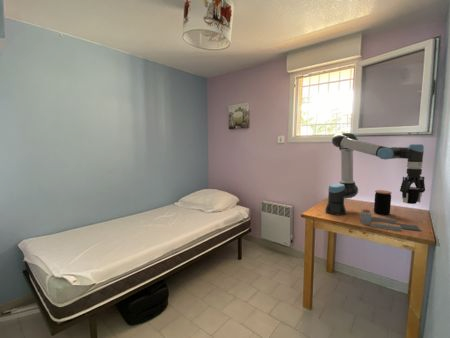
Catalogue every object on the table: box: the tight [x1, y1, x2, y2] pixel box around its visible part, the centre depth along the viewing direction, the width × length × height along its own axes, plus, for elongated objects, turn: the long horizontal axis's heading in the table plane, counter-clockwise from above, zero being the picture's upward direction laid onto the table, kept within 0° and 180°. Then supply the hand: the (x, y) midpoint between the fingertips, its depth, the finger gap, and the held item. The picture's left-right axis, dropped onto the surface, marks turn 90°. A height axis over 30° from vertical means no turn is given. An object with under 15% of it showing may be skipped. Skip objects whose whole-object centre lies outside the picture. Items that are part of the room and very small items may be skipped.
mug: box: [401, 186, 420, 205], centre depth 148 cm, size 12×9×10 cm
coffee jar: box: [373, 189, 392, 216], centre depth 180 cm, size 11×11×18 cm
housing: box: [359, 208, 403, 232], centre depth 157 cm, size 22×16×8 cm
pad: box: [398, 222, 422, 232], centre depth 151 cm, size 10×10×1 cm
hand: (411, 202), depth 149 cm, fingers closed on mug, 9 cm apart
